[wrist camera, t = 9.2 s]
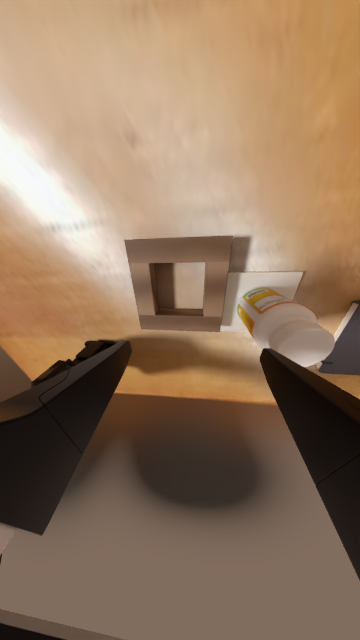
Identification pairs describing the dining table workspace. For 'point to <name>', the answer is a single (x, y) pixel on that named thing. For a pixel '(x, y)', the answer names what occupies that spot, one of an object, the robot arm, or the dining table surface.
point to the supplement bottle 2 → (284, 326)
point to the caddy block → (179, 251)
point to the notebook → (345, 346)
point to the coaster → (249, 280)
